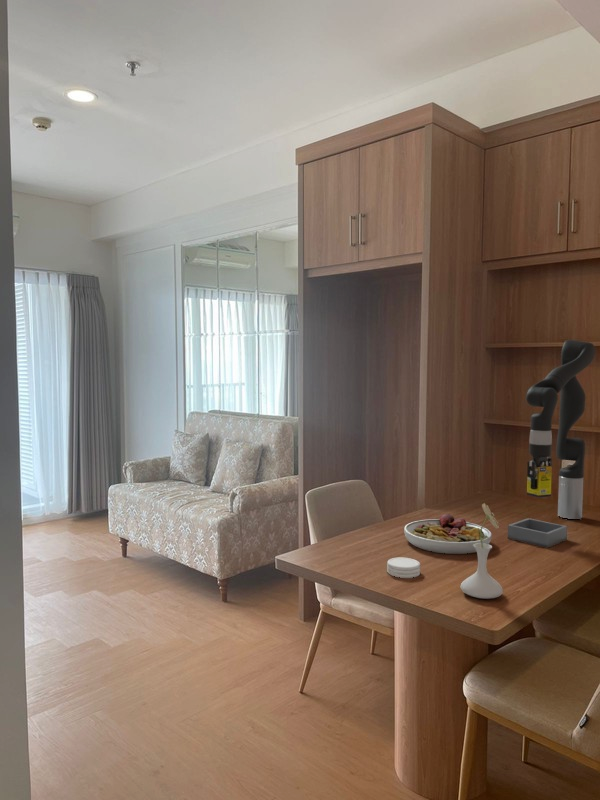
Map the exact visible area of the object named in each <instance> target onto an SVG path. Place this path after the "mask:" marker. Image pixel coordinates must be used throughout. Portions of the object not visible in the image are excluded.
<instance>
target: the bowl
mask: <svg viewBox="0 0 600 800" xmlns="http://www.w3.org/2000/svg"><path fill="white" fill-rule="evenodd" d="M481 527H482V525H479V524H476V523H473V522H472V523H471V522H468V521H466V519H464V518H463V517H458V518H457V519H455V518H454V516H453V515H452V514H450V513H445V514H442V515H440V518H438V519H437V518H436V519H435V518H434V519H432V518H431V519H421V520H416V521H415V520H414V521H412V522H409V523H407V524H405V526H404V529H403V530H404V531H403V532H404V535H405V538H406V540H407V541H408V542H409V543H410V544H411V545H413V546H414V547H417V548H419V549H421V550H424V551H428V552H431V551H432V552H431V553H438V554H444V553H445V554H447V555H465V554H466V555H467V553H468V554H473V553H477V551H476V549H475V547H474V546H473V545H474V544H476V543H481V540H480V539H481V536H480V531H479V529H480V530H481ZM482 535H483V537H482V538H484V537H485V536H486V535H487V536H488V538H486V539H484V540H482V543H485V544H489V545H490V543H491V540H492V532H491V531H490V530H489V529H488V528H486V527H484V526H483V528H482Z"/></svg>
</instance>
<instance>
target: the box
mask: <svg viewBox="0 0 600 800" xmlns="http://www.w3.org/2000/svg"><path fill="white" fill-rule="evenodd" d="M507 539H509V540H512V539H513V541H516V540H517V542H520V541H521V543H524V542H526V543H525V544H528V543H529V545H533V546H537V547H541V548H545V547H546V549H549V548H551V547H553V545H554V546H555V544H556V545H558V544H561V543H563V542H565V541H568V526H567V525H563V524H557V523H553V522H548V521H543V520H539V519H533V518H530V517H529V518H528V517H527V518H525V519H522V520H519V521H516V522H514V523H510V524H508V525H507ZM564 540H565V541H564ZM562 541H563V542H562ZM560 542H561V543H560ZM557 543H558V544H557ZM548 547H549V548H548Z"/></svg>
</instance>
